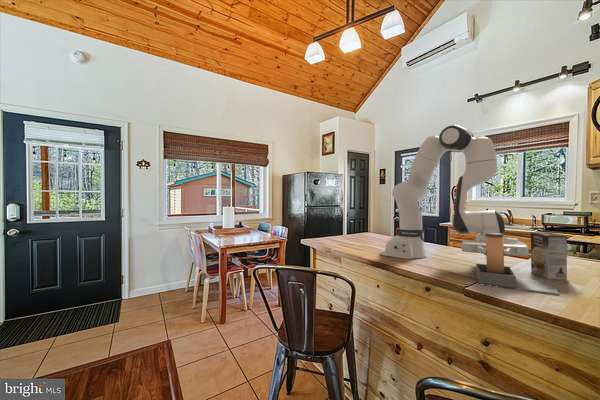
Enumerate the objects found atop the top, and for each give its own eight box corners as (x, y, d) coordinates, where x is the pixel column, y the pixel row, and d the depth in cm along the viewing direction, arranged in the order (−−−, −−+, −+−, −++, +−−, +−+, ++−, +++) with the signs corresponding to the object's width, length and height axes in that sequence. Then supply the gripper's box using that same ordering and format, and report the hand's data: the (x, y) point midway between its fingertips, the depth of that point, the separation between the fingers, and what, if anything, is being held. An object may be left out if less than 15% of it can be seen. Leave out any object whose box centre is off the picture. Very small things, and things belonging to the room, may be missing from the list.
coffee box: (530, 271, 99) (529, 232, 99) (548, 272, 98) (548, 232, 98) (547, 279, 90) (547, 235, 90) (568, 279, 89) (568, 235, 89)
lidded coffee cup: (487, 273, 89) (486, 234, 88) (485, 269, 93) (484, 232, 93) (505, 275, 86) (504, 235, 86) (503, 271, 90) (502, 233, 90)
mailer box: (478, 284, 87) (478, 272, 87) (476, 274, 97) (476, 263, 97) (559, 295, 76) (559, 281, 76) (547, 283, 86) (547, 270, 86)
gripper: (459, 236, 106) (460, 241, 94) (523, 238, 95) (532, 245, 83) (460, 250, 106) (460, 258, 94) (523, 255, 95) (533, 264, 83)
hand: (495, 252), depth 89 cm, fingers closed on lidded coffee cup, 5 cm apart
